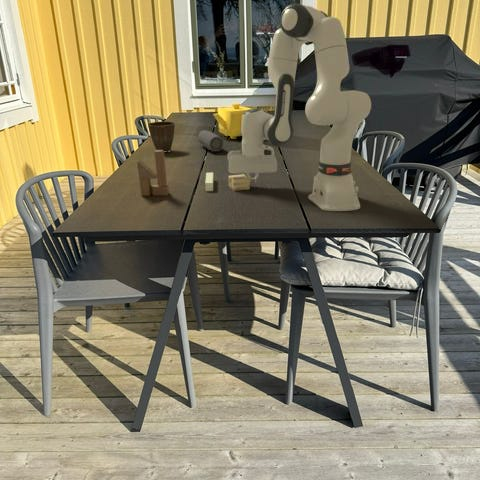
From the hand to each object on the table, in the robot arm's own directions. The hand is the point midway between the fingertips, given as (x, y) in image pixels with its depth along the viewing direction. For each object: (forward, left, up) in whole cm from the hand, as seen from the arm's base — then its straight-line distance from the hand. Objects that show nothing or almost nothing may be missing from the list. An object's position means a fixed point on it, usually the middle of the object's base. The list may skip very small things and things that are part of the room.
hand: (252, 182), depth 181 cm
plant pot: (+74, +46, -2) cm, 87 cm away
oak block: (0, +6, -2) cm, 6 cm away
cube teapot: (+110, +3, -2) cm, 110 cm away
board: (+4, +18, -2) cm, 19 cm away
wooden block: (-6, +40, -2) cm, 41 cm away
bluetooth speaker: (+76, +19, -2) cm, 78 cm away
